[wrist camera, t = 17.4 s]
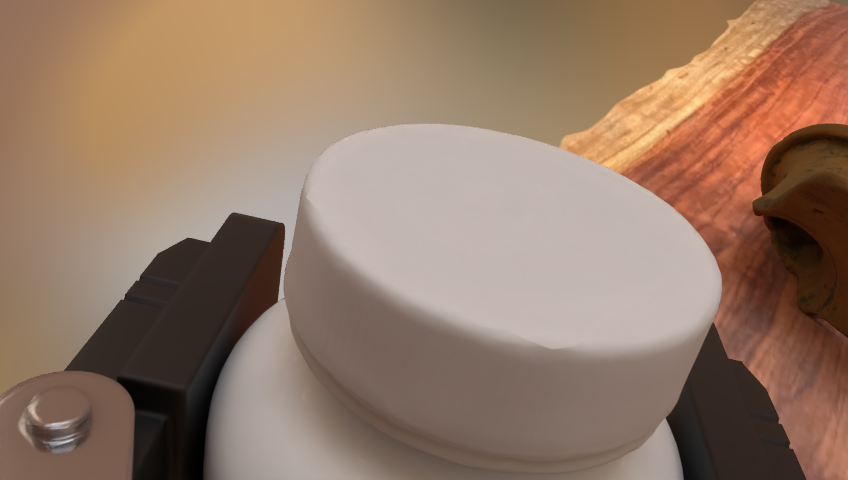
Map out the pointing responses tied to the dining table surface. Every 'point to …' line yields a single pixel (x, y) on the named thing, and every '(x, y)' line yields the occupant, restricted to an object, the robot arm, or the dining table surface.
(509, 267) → the pill bottle
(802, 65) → the dining table surface
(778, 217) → the brown looped sculpture
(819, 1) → the dining table surface
